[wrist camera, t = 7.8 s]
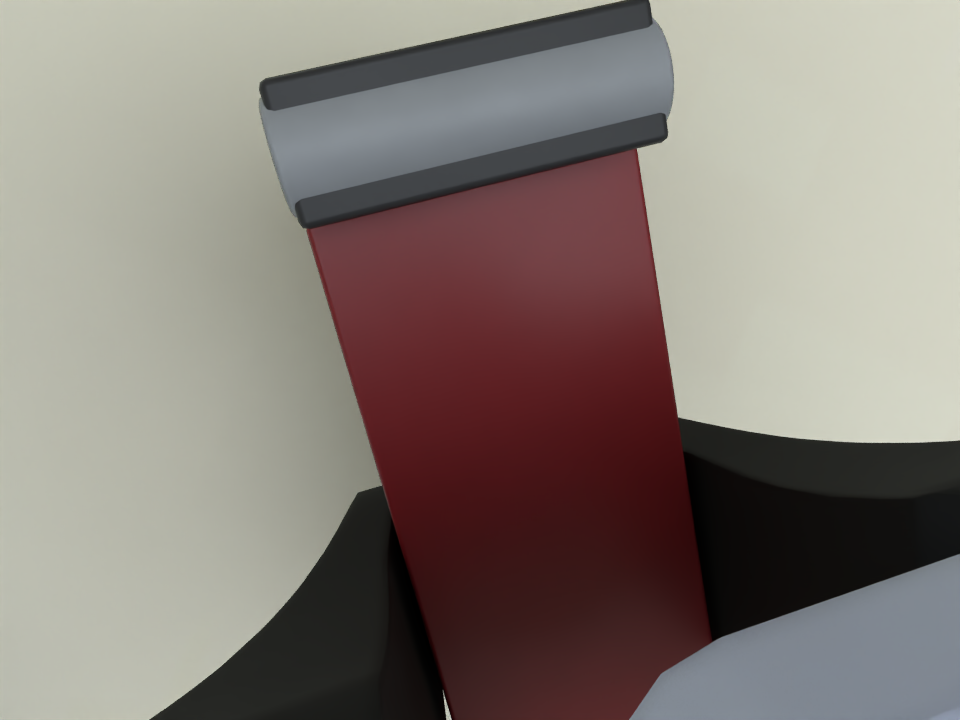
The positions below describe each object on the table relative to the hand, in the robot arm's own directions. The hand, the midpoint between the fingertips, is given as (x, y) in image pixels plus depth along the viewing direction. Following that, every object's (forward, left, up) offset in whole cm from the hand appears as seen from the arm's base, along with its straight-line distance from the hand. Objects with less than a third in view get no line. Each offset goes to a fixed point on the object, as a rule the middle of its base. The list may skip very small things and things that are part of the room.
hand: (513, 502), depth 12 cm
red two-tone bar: (0, 0, -1) cm, 1 cm away
